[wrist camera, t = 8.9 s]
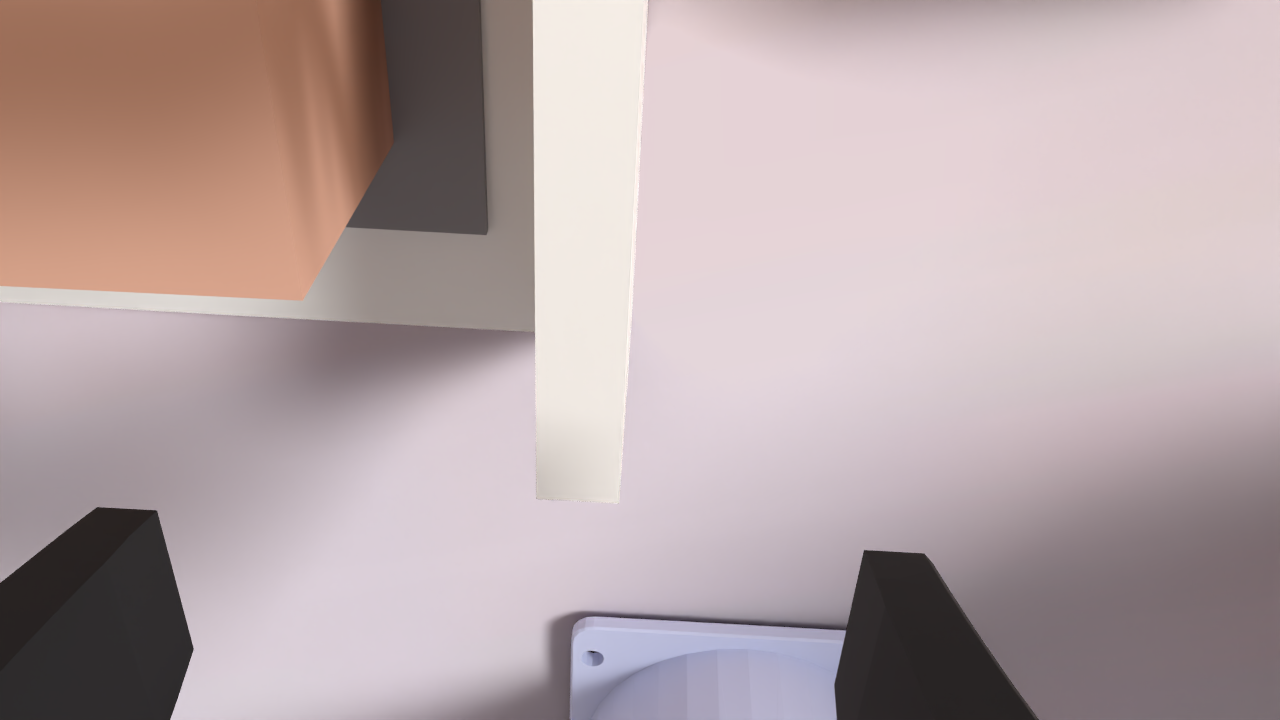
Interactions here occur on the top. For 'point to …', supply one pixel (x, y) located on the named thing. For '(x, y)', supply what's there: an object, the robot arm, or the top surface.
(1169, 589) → the top surface
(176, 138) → the cube
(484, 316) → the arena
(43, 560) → the robot arm
